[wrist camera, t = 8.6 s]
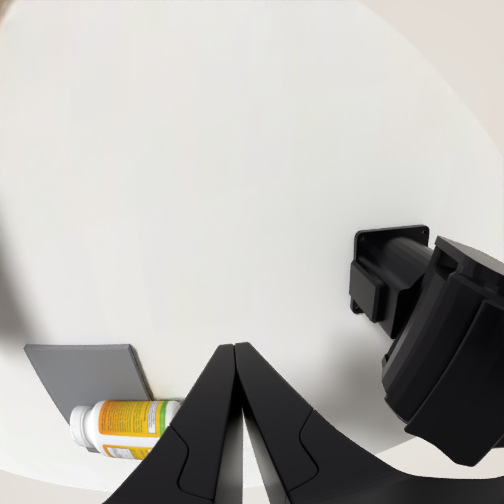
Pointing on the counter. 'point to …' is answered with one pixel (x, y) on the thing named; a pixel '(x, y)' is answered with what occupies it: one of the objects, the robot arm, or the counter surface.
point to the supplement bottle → (122, 426)
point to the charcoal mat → (87, 375)
